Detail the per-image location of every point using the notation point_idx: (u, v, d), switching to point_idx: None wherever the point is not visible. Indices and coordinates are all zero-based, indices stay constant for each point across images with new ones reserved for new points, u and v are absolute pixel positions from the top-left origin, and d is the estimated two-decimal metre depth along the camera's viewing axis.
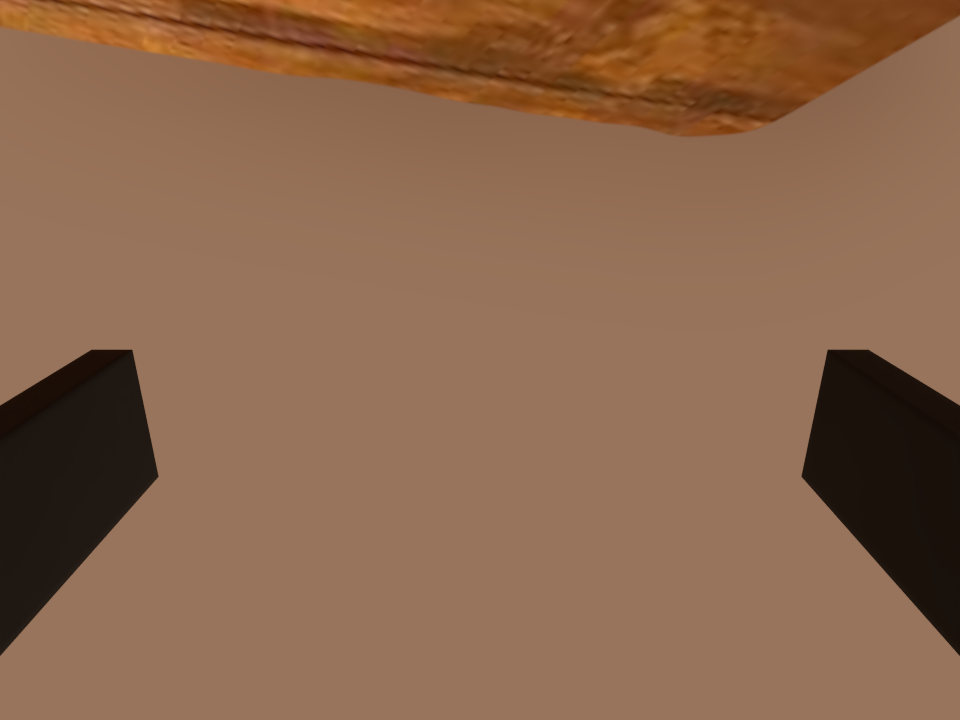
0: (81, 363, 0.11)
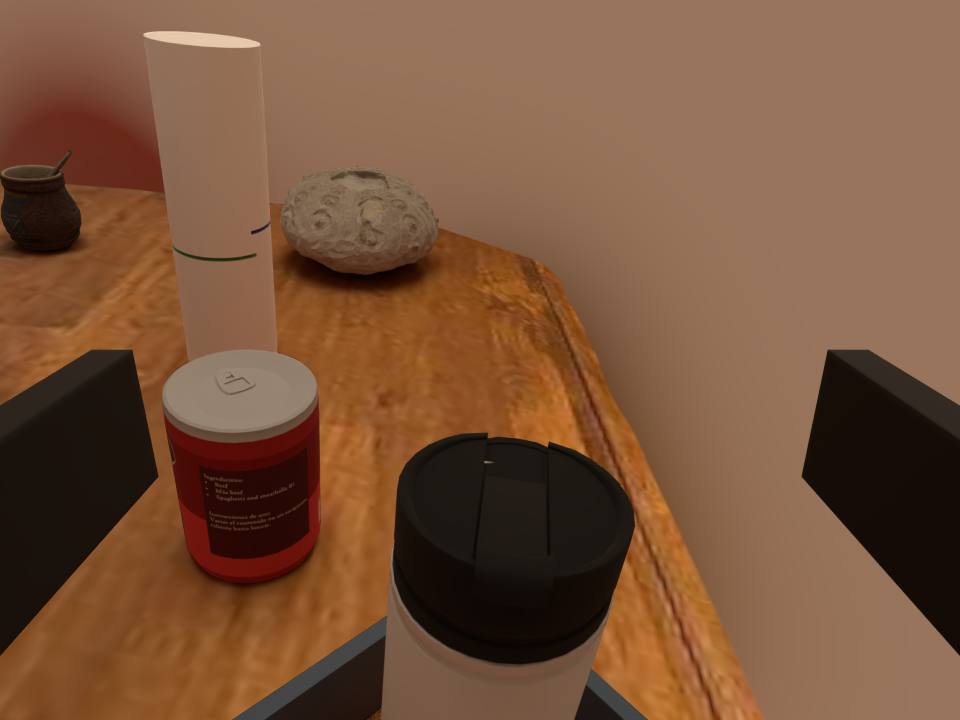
0: (81, 362, 0.11)
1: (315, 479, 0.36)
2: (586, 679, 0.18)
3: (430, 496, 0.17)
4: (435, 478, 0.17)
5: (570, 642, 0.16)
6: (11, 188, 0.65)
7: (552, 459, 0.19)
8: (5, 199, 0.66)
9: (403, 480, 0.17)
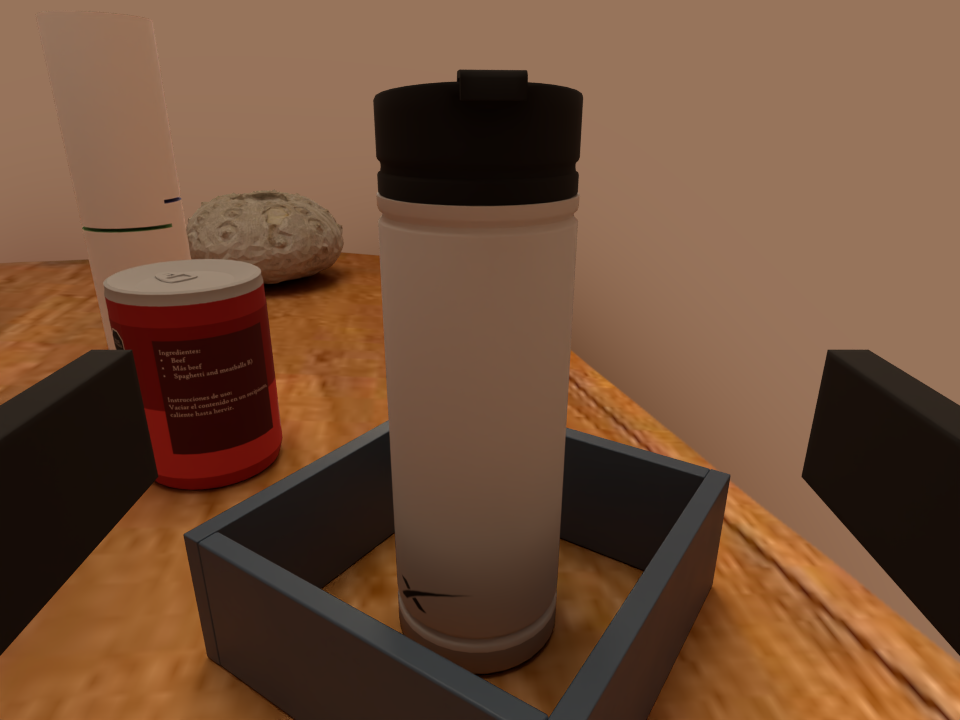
0: (81, 363, 0.11)
1: (271, 368, 0.36)
2: (572, 283, 0.20)
3: None
4: None
5: (551, 185, 0.18)
6: None
7: None
8: None
9: None
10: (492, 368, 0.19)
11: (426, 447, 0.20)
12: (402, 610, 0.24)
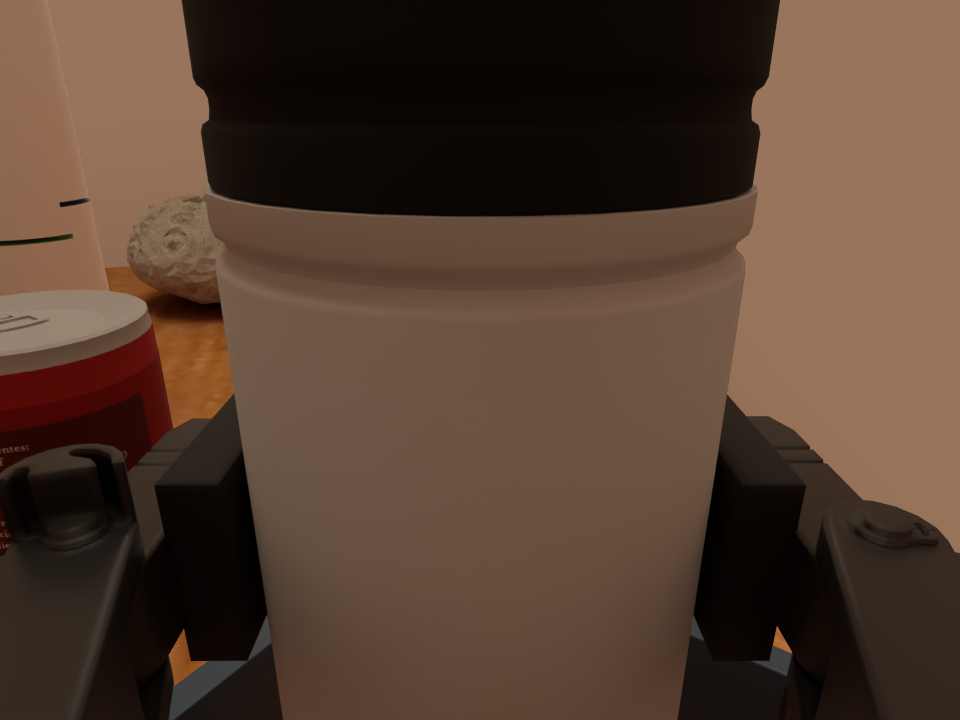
0: None
1: None
2: None
3: None
4: None
5: (718, 148, 0.06)
6: None
7: None
8: None
9: None
10: (523, 676, 0.07)
11: None
12: None
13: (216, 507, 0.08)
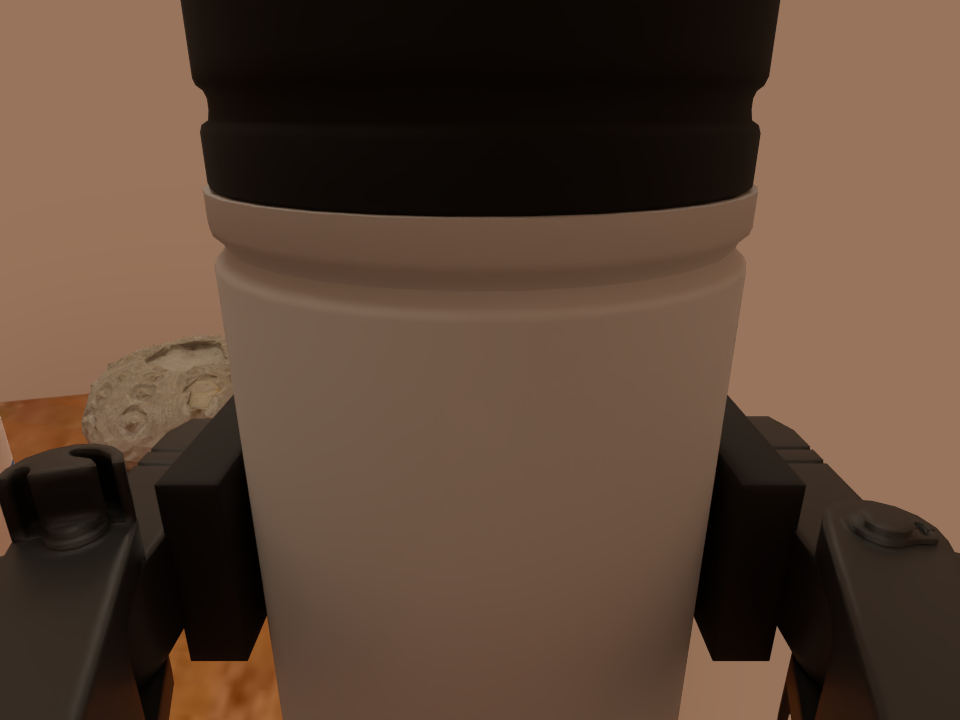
0: None
1: None
2: None
3: None
4: None
5: (719, 147, 0.05)
6: None
7: None
8: None
9: None
10: (524, 678, 0.07)
11: None
12: None
13: (216, 507, 0.08)
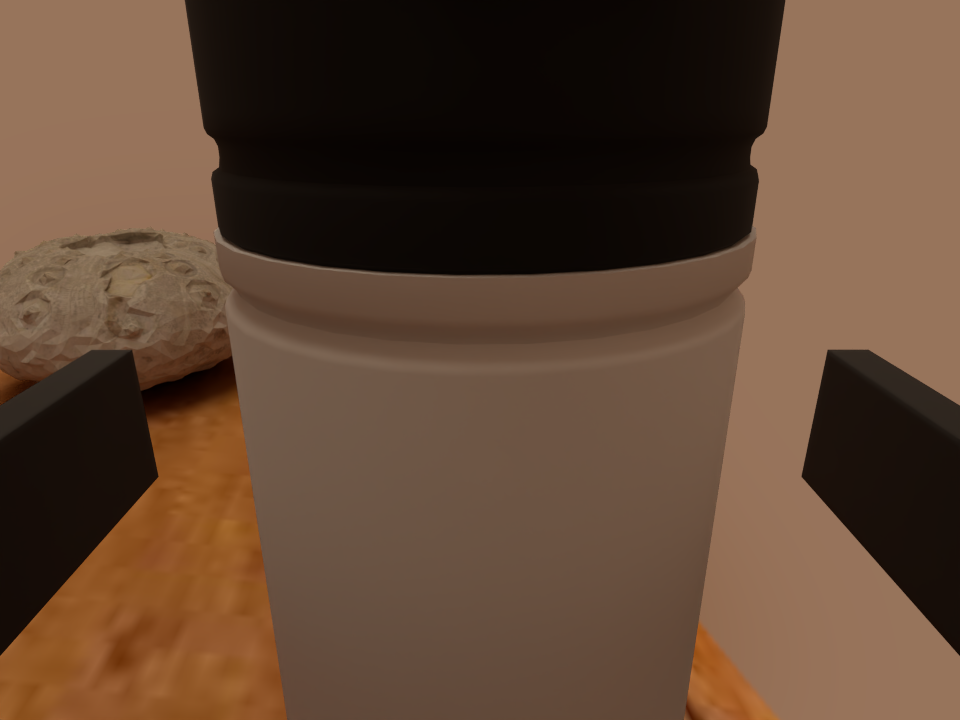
0: (82, 362, 0.11)
1: None
2: None
3: None
4: None
5: (718, 202, 0.06)
6: None
7: None
8: None
9: None
10: (529, 712, 0.07)
11: None
12: None
13: None
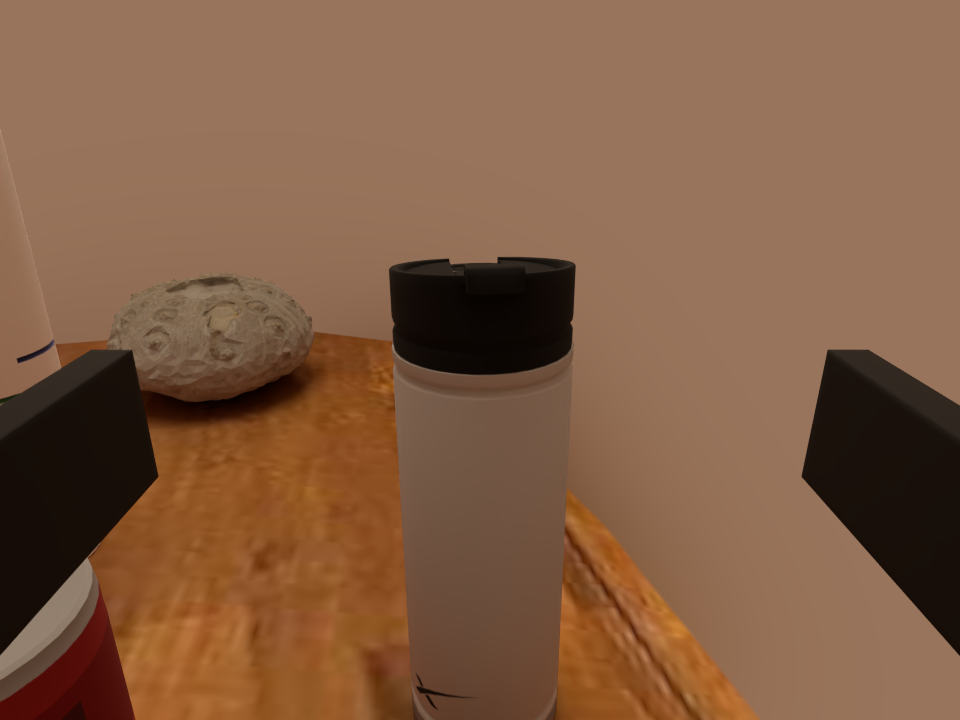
0: (82, 363, 0.11)
1: None
2: (568, 422, 0.22)
3: None
4: None
5: (548, 351, 0.20)
6: None
7: (503, 262, 0.23)
8: None
9: (393, 268, 0.21)
10: (497, 507, 0.21)
11: (438, 570, 0.22)
12: (415, 702, 0.27)
13: None
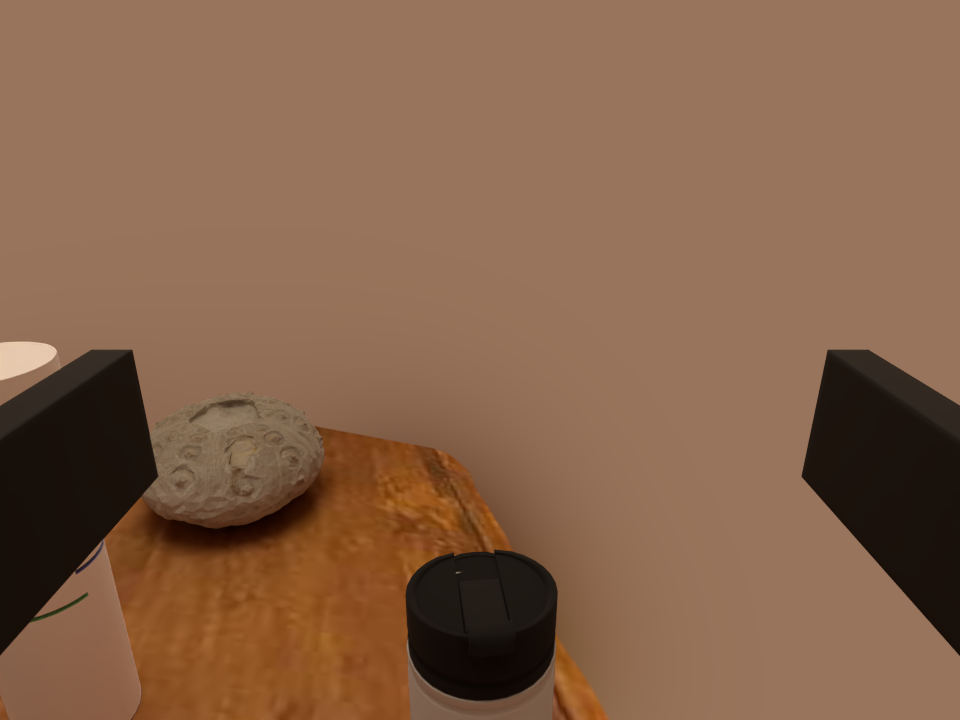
0: (81, 363, 0.11)
1: None
2: (551, 705, 0.27)
3: (427, 603, 0.26)
4: (428, 591, 0.26)
5: (534, 675, 0.25)
6: None
7: (498, 561, 0.28)
8: None
9: (408, 596, 0.26)
10: None
11: None
12: None
13: None
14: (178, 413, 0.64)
